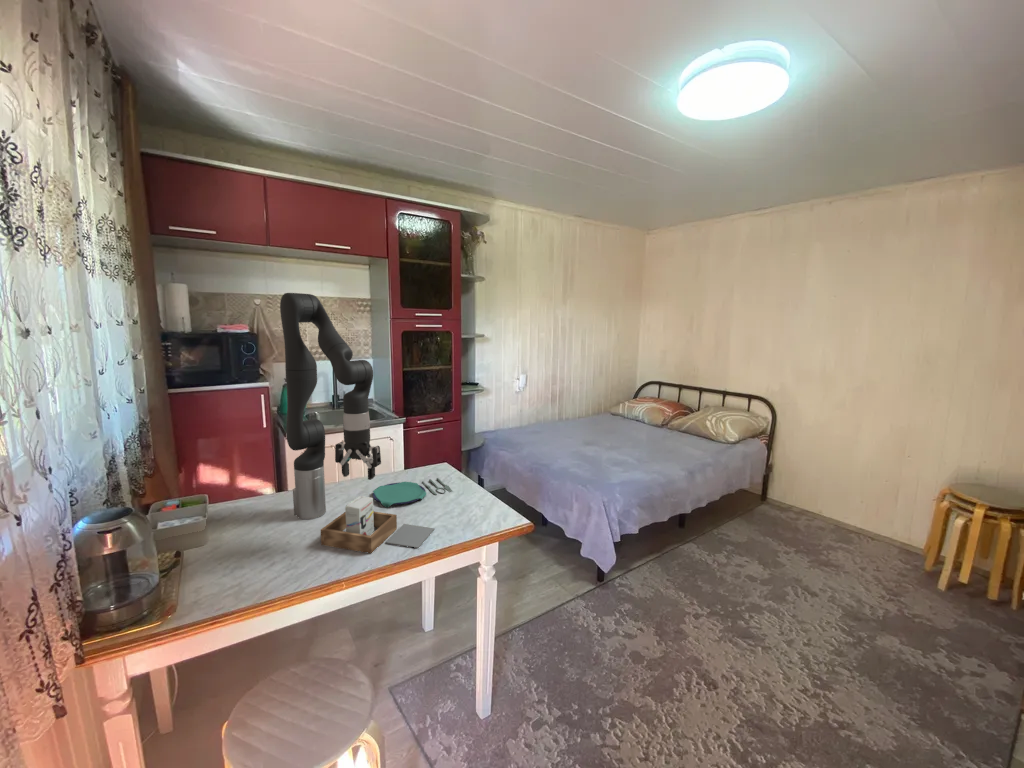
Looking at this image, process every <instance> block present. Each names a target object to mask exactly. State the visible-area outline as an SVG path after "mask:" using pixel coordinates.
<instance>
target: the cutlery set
mask: <svg viewBox="0 0 1024 768" xmlns="http://www.w3.org/2000/svg"><path fill="white" fill-rule="evenodd" d="M436 481H438V482H439V484H440V485H442V486H444V488H442V487H438V486H437V484H436V483H435V482H434V481H433V480H432V479H431V478H430V479H428V482H430V483H431V484H432V485H433V486H434V487H435V488H436V491H437V492H435V491H434V490H433V489H432V488H431V486H430V485H428V484H427V483H425V481H424V480H423V481H421V483H422V484H424V485H425V486H426V489H428V490H429V491H430V493H431V494H433V495H434V496H437V495H438V494H437V493H439V494H442V492H440V491H438V490H442V491H444V492H443V494H444V493H446V492H447V491H448V492H449V493H450V492H451V493H452V492H454V491H453V490H452V488H451V487H450V486H449V485H447V484H445V483H444V482H443V481H442V480H441V479H440V478H439V477H436ZM426 489H425V487H423V486H422V485H420V484H419V483H417V482H414V481H413V482H411V481H401V482H393V483H387V484H384V485H379V486H378V487H376V488H375V489H374V490H373V491H372V498H373V500H375V501H376V502H378V503H381V505H382V506H383V507H385V508H389V507H391V506H393V505H394V506H395V505H399V506H400V505H407V504H411V503H414V502H417V501H418V500H421V501H422V500H423V499H424V498H425V497H426V496H427V492H426V491H427V490H426Z"/></svg>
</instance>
